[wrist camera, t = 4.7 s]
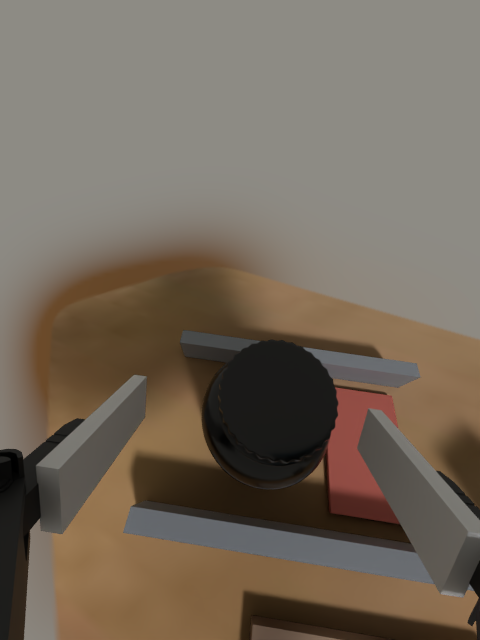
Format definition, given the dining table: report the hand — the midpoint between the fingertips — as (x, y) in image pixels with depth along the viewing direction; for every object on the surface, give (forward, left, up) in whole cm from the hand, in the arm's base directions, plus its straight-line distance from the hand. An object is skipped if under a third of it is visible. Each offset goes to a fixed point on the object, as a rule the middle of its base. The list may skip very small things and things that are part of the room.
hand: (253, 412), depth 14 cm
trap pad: (-10, 0, -6) cm, 12 cm away
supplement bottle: (-1, 0, -7) cm, 7 cm away
